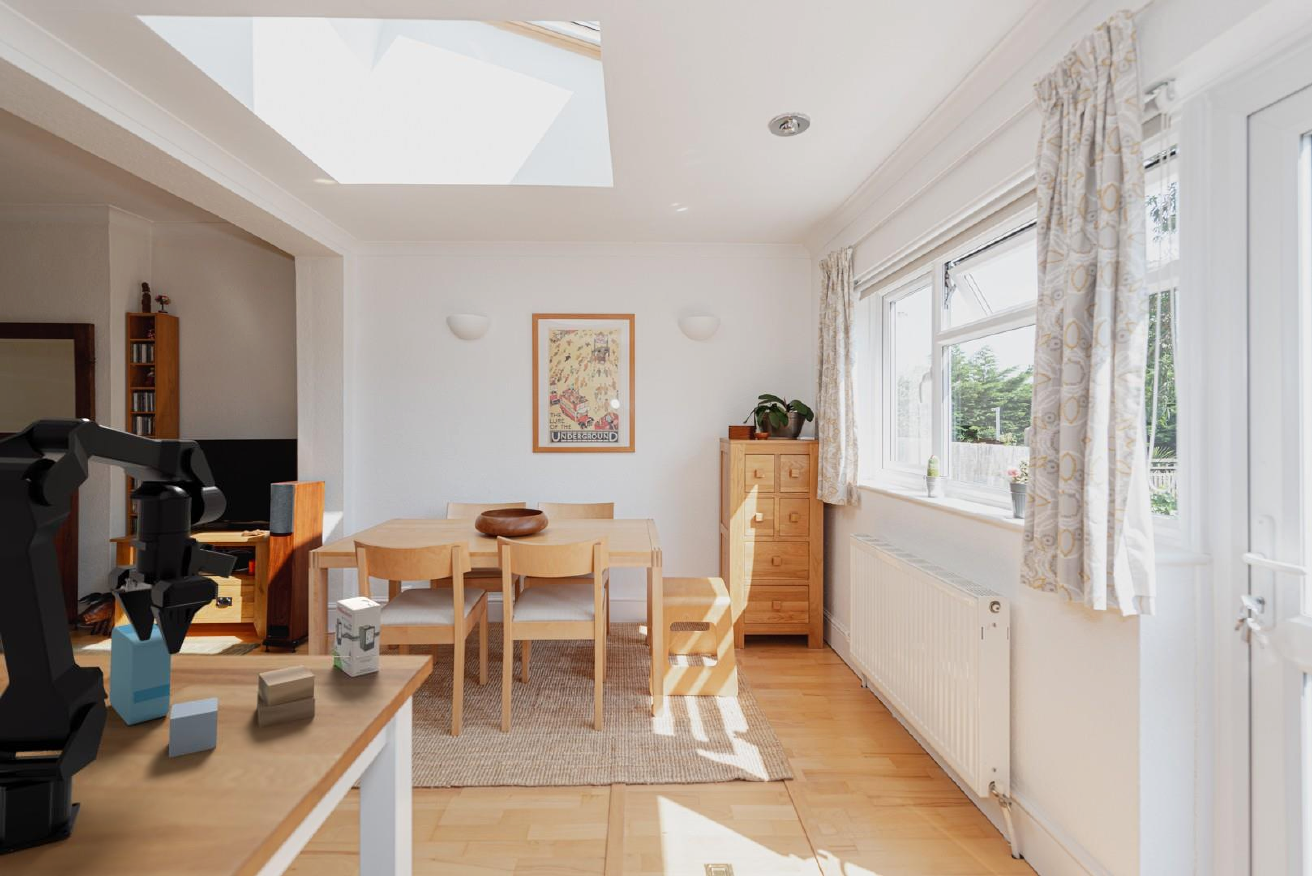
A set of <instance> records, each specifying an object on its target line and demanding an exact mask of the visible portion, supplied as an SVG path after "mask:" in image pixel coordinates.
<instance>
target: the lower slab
mask: <svg viewBox="0 0 1312 876" xmlns="http://www.w3.org/2000/svg"><path fill="white" fill-rule="evenodd" d="M256 694H257V696H256V697H257V699H256V710H257V712H256V713H257V722H258V728H261V727H265V726H271V725H276V724H281V723H286V722H293V721H296V720H302V719H307V718H312V717H316V716H315V713H316V712H315V710H316V709H315V708H316V697H315V695H314V696H311V697H307V698H303V699H299V700H294V701H290V702H286V703H282V704H278V705H273V706H269V707H268V706H267V705H266V704H265V702H264V701H263V700H262V698H261V697H260V696H259V694H258V691H257V693H256Z"/></svg>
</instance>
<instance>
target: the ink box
mask: <svg viewBox="0 0 1312 876" xmlns="http://www.w3.org/2000/svg"><path fill="white" fill-rule="evenodd" d="M381 609H382V608H381V604H380V603H378V602H376V601H374V600H372V599H370V598H369V597H365V596H357V597H352V598H346V599H340V600H336V608H335V626H334V627H335V628H334V629H335V631H334V649H333V650H334V651H333V664H334V666H336V667H337V668H339V669H340V670H341V671H343V672H344V673H345V674H347V675H349V676H350V677H351V678H355V677H357V676H362V675H366V674H370V673H374V672H378V671H379V666H380V636H381V635H380V634H381ZM334 656H350V657H334ZM357 656H359V657H357ZM374 656H379V657H374Z"/></svg>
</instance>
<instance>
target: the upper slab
mask: <svg viewBox="0 0 1312 876" xmlns="http://www.w3.org/2000/svg"><path fill="white" fill-rule="evenodd" d="M257 683H258V684H257V685H258V687H257V692H258V694H259V696H260V697H261V698H262V700H263V701H264V702H265V704H266V705H267V706H268V707H269V706H273V705H278V704H282V703H286V702H290V701H294V700H299V699H303V698H307V697H311V696H315V674H313V673H312V672H311V671H310V670H309V669H308V668H307V666H305V665H304V664H299V665H295V666H290V667H285V668H280V669H276V670H270V671H265V672H260V673H258V682H257Z"/></svg>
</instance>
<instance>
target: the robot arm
mask: <svg viewBox="0 0 1312 876" xmlns="http://www.w3.org/2000/svg"><path fill="white" fill-rule="evenodd" d="M47 455H49V456H51V455H52V456H62V457H61V458H59V459H58V460H57V461H56V460H54V459H51V458H48V457H47V458H45V456H47ZM89 462H93V463H98V464H99V463H100V464H105V465H109V466H116V467H119V468H122V469H123V473H124V474H125V475H127V476H130V477H131V478H133V479H136V480H138V481H140V482H142V483H141V485H140V486H138V488H136V489H135V490H133V491H132V492H131V493H130V494H129V499H130V501H131V500H132V501H138V505H137V530H136V538H131V539H130V547H131V548H135V550H136V551H135V563H134V564H127V565H126V564H125V565H116V566H115V567H114V568H113V569H112V570H111V571H110V572H109V573H108V574H107V577H108V578H107V588H109V589H112V590H111V594H112V595H113V596H114V598H115V599H116V601H117V602H118V604H119V605H120V607H121V609H122V610H123V612H124V614H125V617H126V618H127V620H128V622H129V624H131V625H132V627H133V629H134V631H135V633H136V635H137V637H138V638H139V640H140V641H146V640H149V639H150V637H151V633H152V629H153V625H154V624H155V622H156V625H157V626H158V628H159V630H160V633H161V636H162V638H163V641H164V644H165V646H166V649H167V651H168V653H169V654H171V655H174V654H175V655H176V654H178V653H180V652H181V649H182V646H183V644H184V642H185V640H186V636H187V633H188V631H189V629H190V626H191V624H192V622H193V619H194V617H195V616H196V614H197V613H198V612H199V611H200V610H201V609H203V608H204V607H206V606H208V605H210V604H211V603H212V602H213V600H214V601H215V600H216V599H218V598H219V583H218V582H216V581H215V580H214V579H213V578H212V577H208V576H204V575H202V574H201V575H200V573H206V574H208V575H213V576H214V575H215V576H218V577H220V578H224V579H229V578H230V576H231V574H232V571H233V569H234V566H235V563H236V562H237V559H238V557H237V556H234V555H230V554H225V553H221V552H217V551H216V547H215V544H210V543H206V542H203V541H202V542H201V541H199V540H197V538H196V537H191V527H192V526H196V525H201V524H205V523H208V522H209V523H210V522H213V521H215V520H217V519H219V518H220V517H221V516H222V515H223V514H224V512H225V510H226V508H227V499H226V498H225V495H224V494H223V492H222V491H221V489H219V488H218V487H216V486H215V485H216V482H215V479H214V476H213V474H212V471H211V468H210V466H209V464H208V460H207V458H206V455H205V453H204V450H203V449H201V446H200V444H199V443H198V442H197V441H195V440H194V439H172V438H171V439H170V438H169V439H167V438H166V439H165V438H148V437H145V436H141V435H138V434H135V433H130V432H127V431H124V430H119V429H117V428H112V427H109V426H106V425H102V424H99V423H98V422H95V421H92V420H90V419H88V418H71V417H70V418H69V417H44V418H41V419H36V420H35V421H32V422H31V423H30V424H29V425H28V426H26V427H25V428H23V429H22V430H21V431H19V432H16V433H14V434H11V435H9V436H6V437H4V438H1V439H0V642H1V648H2V651H3V657H4V661H5V667H6V671H7V672H6V673H7V677H8V683H7V685H6V687H5V688H4V690H3V692H2V693H1V695H0V853H2V854H5V853H4V852H6V853H10V852H12V851H11V850H14V851H17V850H21V849H26V848H30V847H33V846H37V845H42V844H46V843H49V842H54V841H58V840H62V839H66V838H68V837H70V836H71V835H72V832H73V829H74V826H75V824H76V821H77V819H78V816H79V813H80V810H81V808H82V807H81V806H82V805H81V802H77V801H76V802H72V801H73V778H74V777H73V776H75V775H76V774H77V773H79V772H80V771H82V770H83V769H85V768H86V767H87V766H89V765H90V764H91V763H93V762H95V760H96V759H97V757H98V753H99V750H100V745H101V742H102V738H103V734H104V730H105V725H106V722H107V718H108V708H107V705H106V701H105V700H107V699H109V695H108V693H107V692H106V689H105V685H104V672H103V670H102V669H101V668H100V666H80V665H79V664H78V663H77V662H76V660H75V655H74V649H73V643H72V638H71V632H70V626H69V620H68V614H67V608H66V603H65V602H66V601H65V596H64V590H63V586H62V585H63V584H62V578H61V573H60V567H59V561H58V556H57V549H56V544H55V538H56V535H57V534H58V532H59V531H60V529H61V528H62V526H63V525H64V523H65V521H66V519H67V518H68V516H69V515H70V514H71V507H72V506H71V496H72V495H73V494H74V493H75V492H76V491H77V490H78V489H79V488H80V487H81V486H82V485H83V484H84V483H85V482H86V481H87V480H88V478H89ZM34 752H35V753H37V752H60V754H46V755H45V754H42V755H40V754H39V755H20V756H17V753H34ZM9 851H10V852H9Z"/></svg>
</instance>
